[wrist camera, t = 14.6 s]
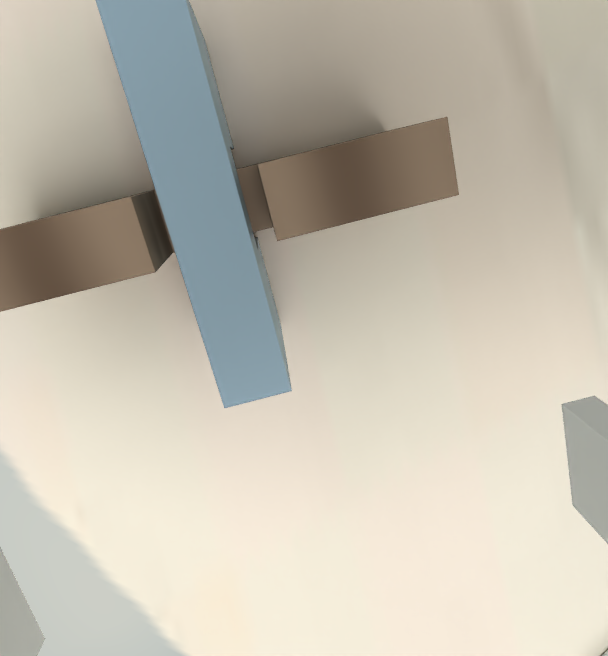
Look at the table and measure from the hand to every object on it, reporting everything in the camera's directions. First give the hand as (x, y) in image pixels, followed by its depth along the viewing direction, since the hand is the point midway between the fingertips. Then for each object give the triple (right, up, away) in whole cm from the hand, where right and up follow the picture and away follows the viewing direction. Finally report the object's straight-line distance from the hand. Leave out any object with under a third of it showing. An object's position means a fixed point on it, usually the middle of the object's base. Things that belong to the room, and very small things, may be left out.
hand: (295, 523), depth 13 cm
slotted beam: (-4, +12, +18) cm, 22 cm away
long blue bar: (-5, +12, +18) cm, 22 cm away
